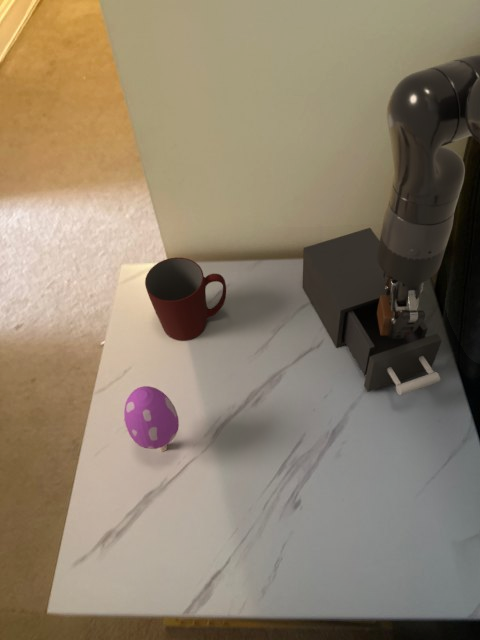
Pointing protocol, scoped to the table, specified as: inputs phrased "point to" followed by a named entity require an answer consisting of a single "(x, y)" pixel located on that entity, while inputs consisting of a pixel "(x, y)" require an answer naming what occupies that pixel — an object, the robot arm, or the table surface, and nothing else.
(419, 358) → the drawer
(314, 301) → the cabinet
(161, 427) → the toy
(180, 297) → the mug
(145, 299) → the table surface
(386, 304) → the block
